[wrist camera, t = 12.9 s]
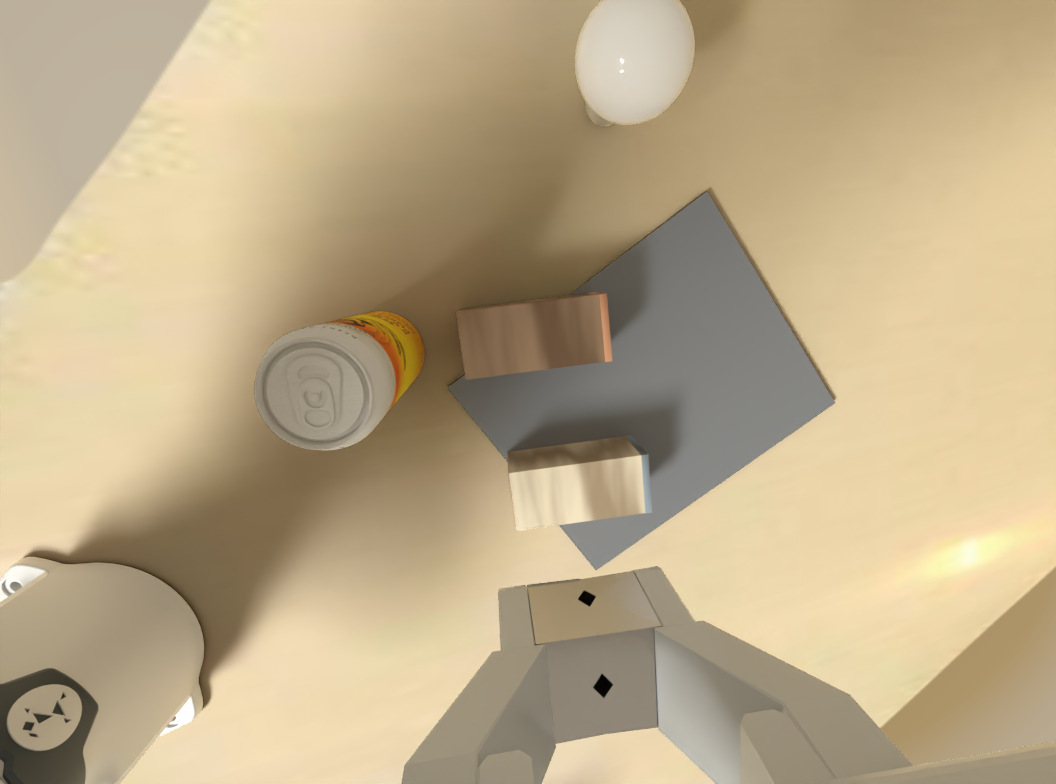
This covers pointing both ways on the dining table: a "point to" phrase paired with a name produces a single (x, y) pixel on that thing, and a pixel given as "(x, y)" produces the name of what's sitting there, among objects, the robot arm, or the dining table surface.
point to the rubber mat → (666, 375)
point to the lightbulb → (633, 59)
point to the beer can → (337, 378)
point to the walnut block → (534, 335)
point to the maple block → (579, 482)
